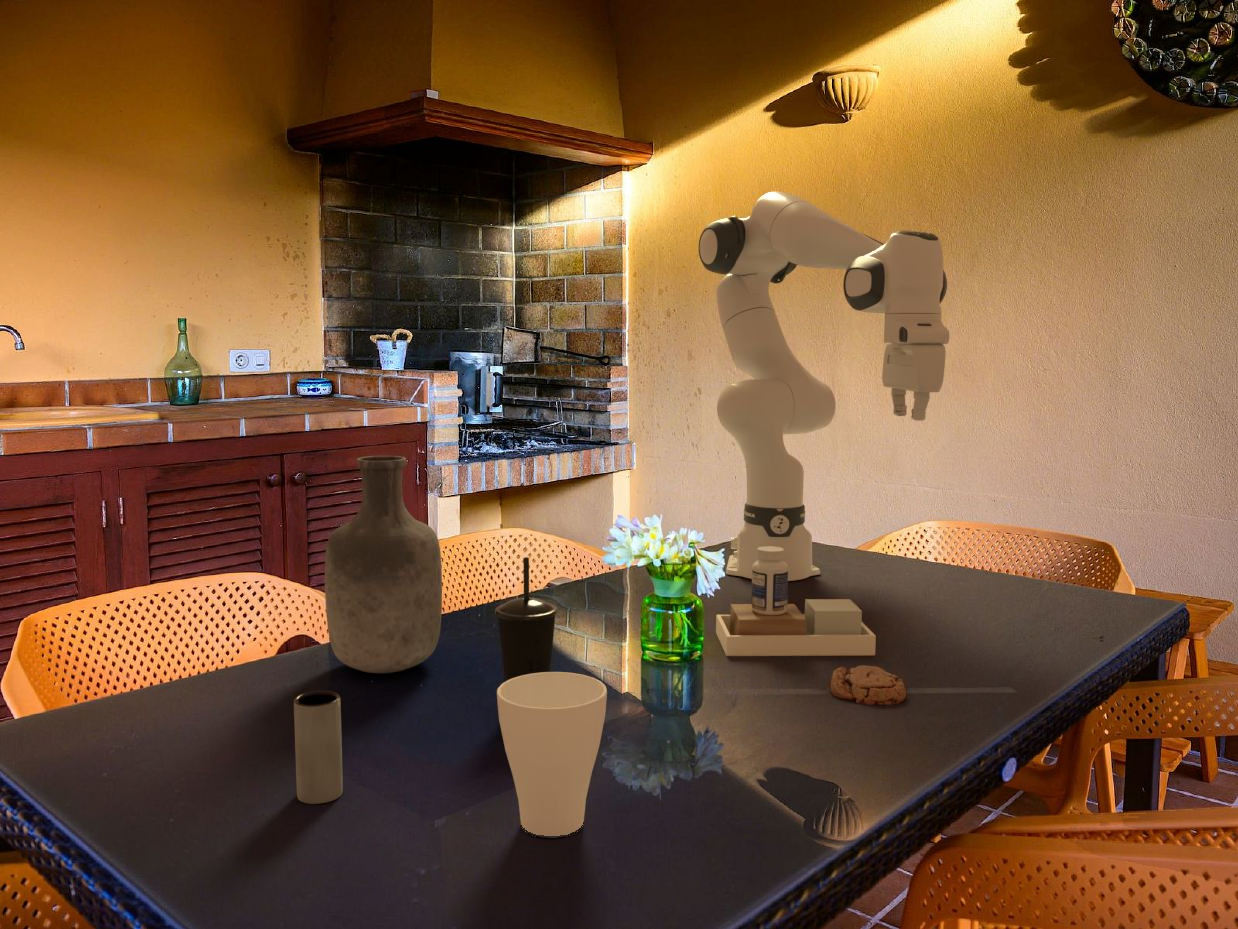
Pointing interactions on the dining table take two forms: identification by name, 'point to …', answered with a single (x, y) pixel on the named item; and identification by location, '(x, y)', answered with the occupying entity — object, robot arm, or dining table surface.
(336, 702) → the planter
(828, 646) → the box
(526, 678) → the cup
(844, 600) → the pale green block
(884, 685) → the cookie
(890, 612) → the dining table surface
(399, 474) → the vase
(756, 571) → the pill bottle
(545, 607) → the drinking cup
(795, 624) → the walnut block
